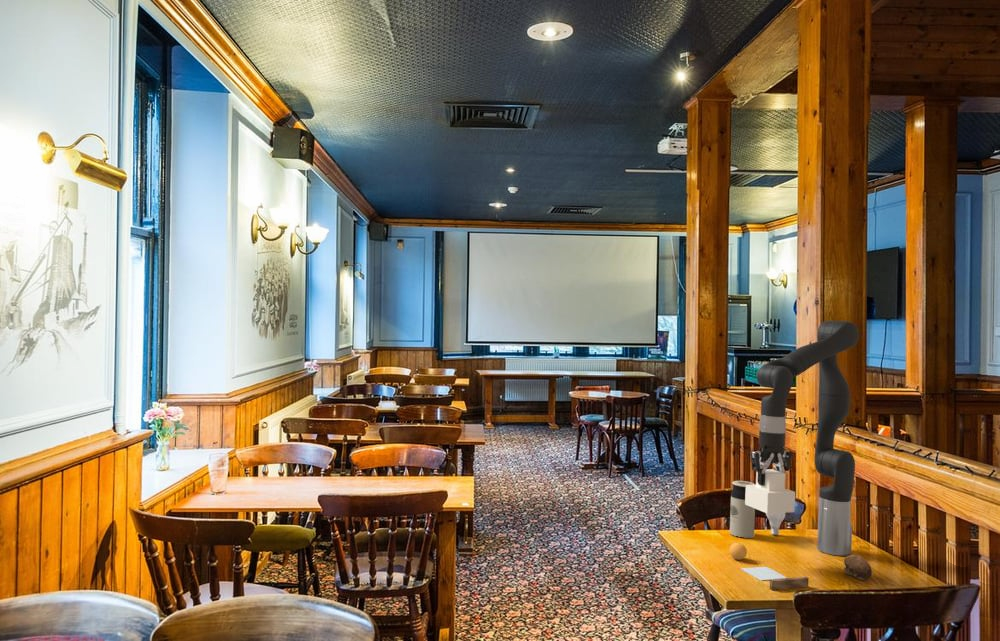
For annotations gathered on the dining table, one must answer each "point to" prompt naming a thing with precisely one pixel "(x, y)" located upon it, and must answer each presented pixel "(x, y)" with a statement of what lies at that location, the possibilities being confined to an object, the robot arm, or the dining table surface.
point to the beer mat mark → (763, 573)
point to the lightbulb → (775, 521)
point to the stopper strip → (789, 583)
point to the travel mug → (741, 512)
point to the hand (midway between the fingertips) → (770, 484)
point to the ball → (738, 551)
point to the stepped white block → (770, 494)
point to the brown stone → (857, 567)
